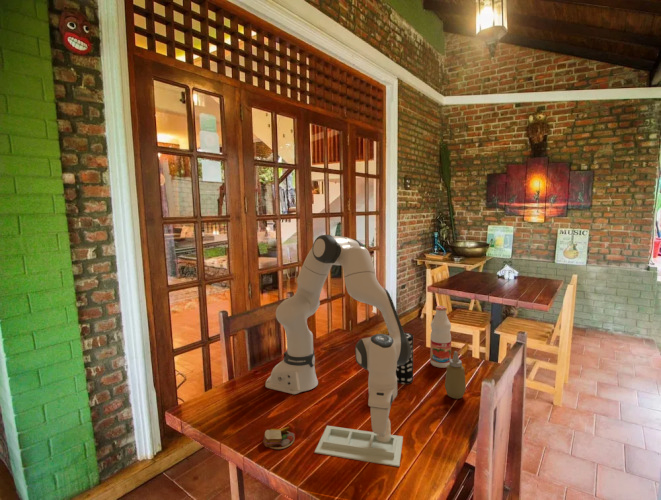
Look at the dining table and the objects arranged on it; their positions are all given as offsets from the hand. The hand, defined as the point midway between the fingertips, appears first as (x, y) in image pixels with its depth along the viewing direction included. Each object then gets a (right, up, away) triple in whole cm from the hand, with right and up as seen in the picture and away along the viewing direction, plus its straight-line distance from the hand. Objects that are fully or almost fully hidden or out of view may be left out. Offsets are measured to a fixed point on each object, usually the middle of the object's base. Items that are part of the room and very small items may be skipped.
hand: (383, 430), depth 114 cm
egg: (0, -3, 0) cm, 3 cm away
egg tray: (-7, -6, +3) cm, 10 cm away
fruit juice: (+36, +1, +61) cm, 71 cm away
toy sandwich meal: (-33, -7, +6) cm, 35 cm away
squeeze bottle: (+33, -2, +32) cm, 46 cm away
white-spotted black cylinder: (+15, -1, +46) cm, 48 cm away
